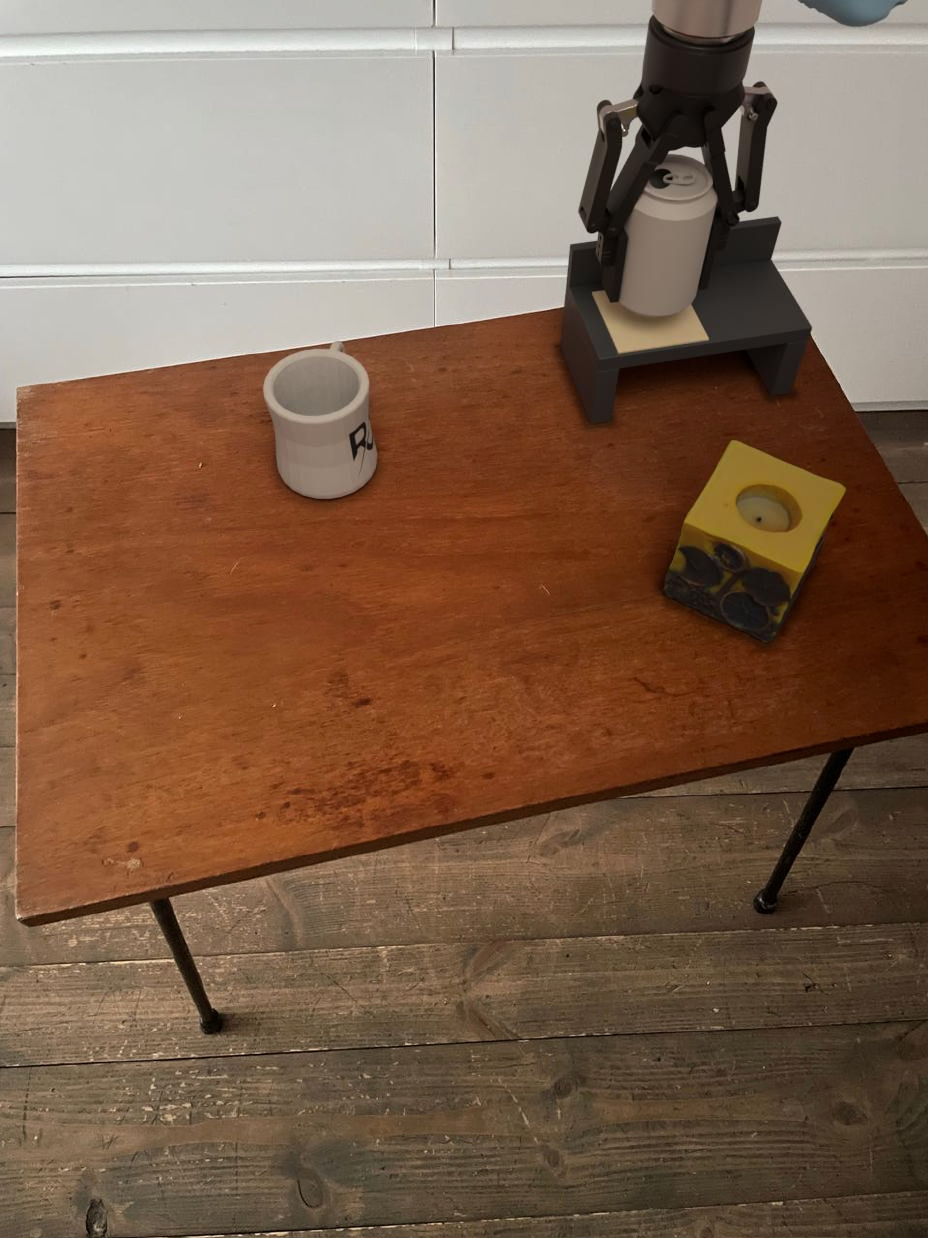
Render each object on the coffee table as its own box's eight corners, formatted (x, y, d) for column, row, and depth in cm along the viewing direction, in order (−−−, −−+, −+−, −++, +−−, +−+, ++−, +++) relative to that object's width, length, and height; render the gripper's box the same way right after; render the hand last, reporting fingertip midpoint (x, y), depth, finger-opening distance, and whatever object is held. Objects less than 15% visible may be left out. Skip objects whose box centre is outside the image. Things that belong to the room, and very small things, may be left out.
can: (620, 262, 97) (638, 139, 87) (701, 278, 96) (729, 155, 86) (601, 313, 93) (618, 190, 83) (685, 331, 92) (712, 208, 82)
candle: (706, 515, 93) (730, 434, 85) (816, 562, 90) (851, 483, 82) (657, 595, 88) (677, 518, 80) (771, 648, 85) (804, 573, 77)
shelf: (749, 319, 108) (777, 215, 98) (790, 393, 102) (825, 290, 92) (559, 347, 106) (570, 243, 96) (590, 424, 100) (604, 322, 90)
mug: (365, 510, 94) (356, 429, 85) (266, 496, 95) (247, 414, 86) (395, 412, 101) (389, 328, 92) (302, 400, 101) (288, 316, 93)
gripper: (816, -21, 78) (747, 245, 97) (550, 7, 76) (532, 274, 94) (859, 29, 74) (778, 297, 93) (578, 61, 71) (554, 330, 90)
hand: (654, 285), depth 94 cm, fingers closed on can, 7 cm apart
